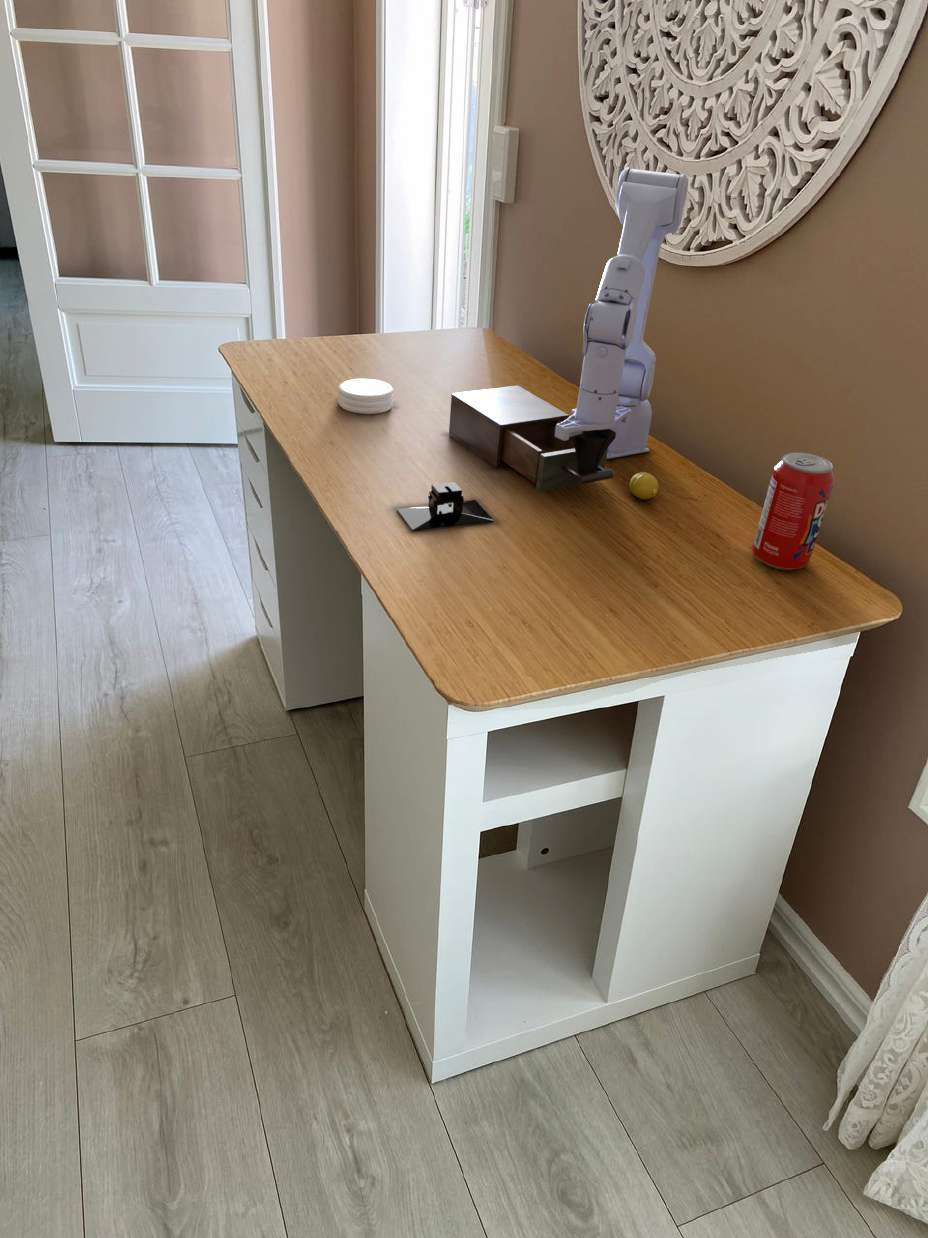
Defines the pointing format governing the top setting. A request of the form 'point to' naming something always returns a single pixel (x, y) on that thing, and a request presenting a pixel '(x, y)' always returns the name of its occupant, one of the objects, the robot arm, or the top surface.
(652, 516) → the top surface
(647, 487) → the lemon
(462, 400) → the cabinet
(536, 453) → the drawer
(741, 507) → the top surface
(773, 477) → the soda can
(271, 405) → the top surface
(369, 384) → the coaster
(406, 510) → the black block on plate
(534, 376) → the top surface
